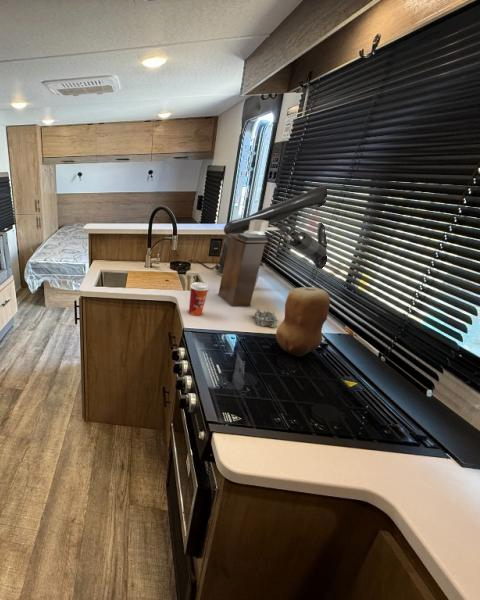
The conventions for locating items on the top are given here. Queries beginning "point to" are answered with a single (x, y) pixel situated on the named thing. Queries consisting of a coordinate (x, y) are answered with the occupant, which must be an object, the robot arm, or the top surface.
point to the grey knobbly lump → (265, 318)
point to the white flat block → (261, 226)
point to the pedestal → (240, 270)
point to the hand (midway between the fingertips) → (277, 225)
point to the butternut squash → (303, 320)
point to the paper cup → (197, 298)
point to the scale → (252, 237)
